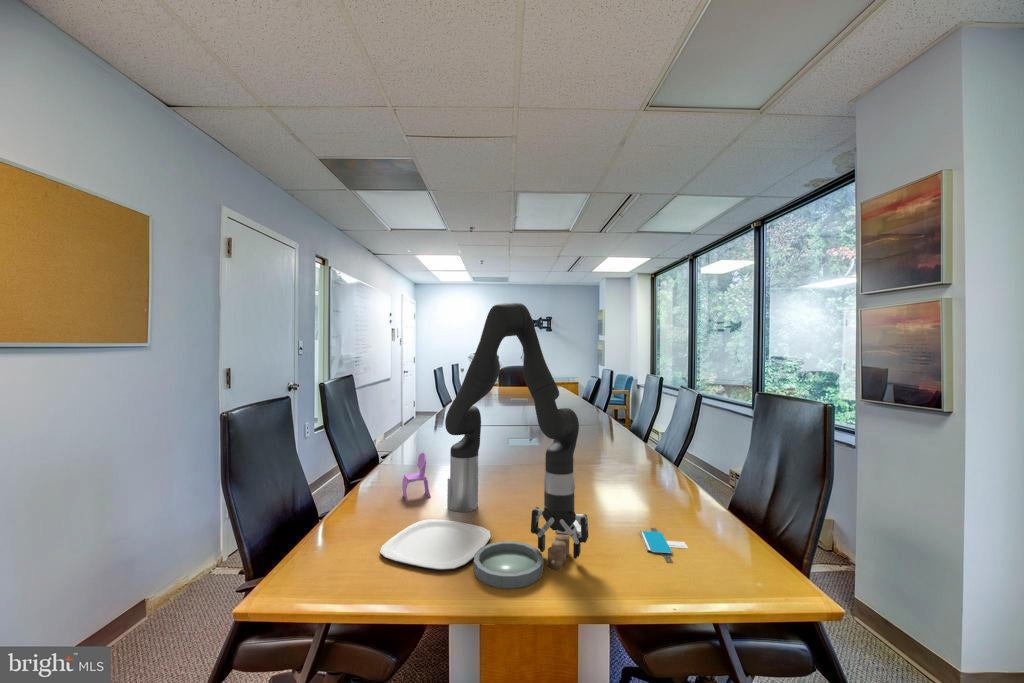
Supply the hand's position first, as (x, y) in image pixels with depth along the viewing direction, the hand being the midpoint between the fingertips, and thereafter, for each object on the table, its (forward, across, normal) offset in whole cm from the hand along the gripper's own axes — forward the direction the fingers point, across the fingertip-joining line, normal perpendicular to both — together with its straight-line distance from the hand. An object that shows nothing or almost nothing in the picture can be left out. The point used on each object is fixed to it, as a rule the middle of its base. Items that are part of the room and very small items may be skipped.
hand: (559, 553), depth 104 cm
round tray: (+1, -10, -9) cm, 14 cm away
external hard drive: (+2, -2, +21) cm, 22 cm away
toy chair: (+1, -58, +23) cm, 63 cm away
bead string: (+2, 0, 0) cm, 2 cm away
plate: (+2, -32, -5) cm, 33 cm away
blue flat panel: (+2, +24, +19) cm, 31 cm away
